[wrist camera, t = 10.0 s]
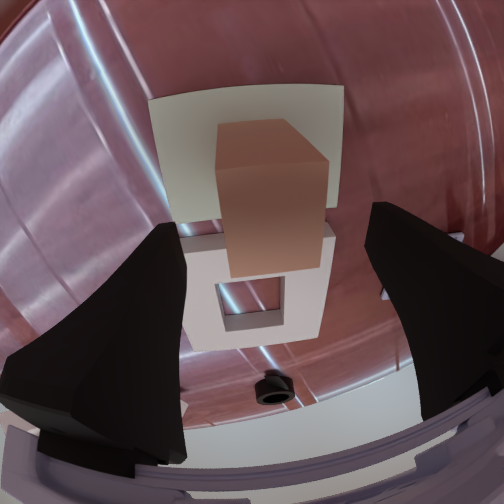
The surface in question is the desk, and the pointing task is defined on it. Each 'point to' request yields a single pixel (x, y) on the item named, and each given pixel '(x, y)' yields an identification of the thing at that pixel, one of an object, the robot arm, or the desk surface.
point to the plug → (270, 197)
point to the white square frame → (257, 323)
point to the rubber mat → (235, 110)
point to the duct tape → (274, 390)
